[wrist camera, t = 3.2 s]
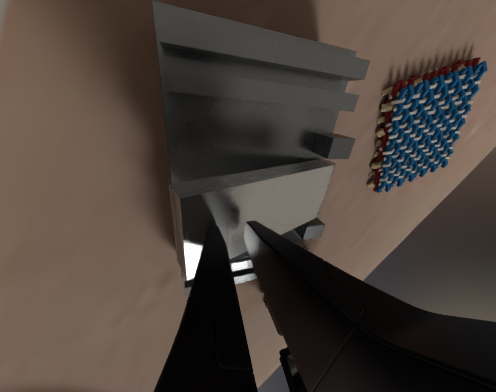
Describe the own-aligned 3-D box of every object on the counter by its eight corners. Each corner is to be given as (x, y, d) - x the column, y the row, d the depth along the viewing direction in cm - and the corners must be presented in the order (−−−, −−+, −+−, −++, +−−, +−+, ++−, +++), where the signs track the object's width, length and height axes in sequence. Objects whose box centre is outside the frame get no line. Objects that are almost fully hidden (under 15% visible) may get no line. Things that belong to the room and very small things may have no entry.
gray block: (322, 158, 13) (339, 163, 12) (308, 207, 15) (321, 215, 14) (168, 184, 7) (180, 198, 6) (177, 261, 9) (187, 280, 8)
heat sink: (324, 60, 13) (388, 46, 9) (282, 240, 20) (306, 275, 16) (159, 25, 9) (145, -23, 5) (181, 256, 17) (183, 305, 13)
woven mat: (468, 55, 17) (500, 51, 15) (430, 160, 23) (451, 166, 21) (376, 83, 15) (400, 82, 14) (361, 189, 21) (376, 197, 19)
